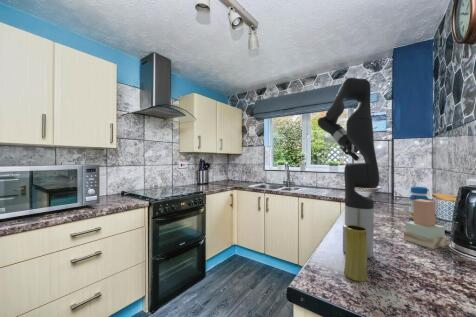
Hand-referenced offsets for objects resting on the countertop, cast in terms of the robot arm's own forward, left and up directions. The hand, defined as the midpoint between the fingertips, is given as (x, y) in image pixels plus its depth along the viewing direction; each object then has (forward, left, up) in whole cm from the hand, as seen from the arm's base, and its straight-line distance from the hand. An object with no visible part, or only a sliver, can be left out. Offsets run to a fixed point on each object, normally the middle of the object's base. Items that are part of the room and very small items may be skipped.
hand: (363, 159), depth 101 cm
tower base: (+9, -20, -35) cm, 42 cm away
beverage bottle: (+37, -6, -35) cm, 51 cm away
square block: (+9, -20, -27) cm, 35 cm away
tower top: (+9, -20, -31) cm, 38 cm away
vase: (-41, -27, -35) cm, 60 cm away
